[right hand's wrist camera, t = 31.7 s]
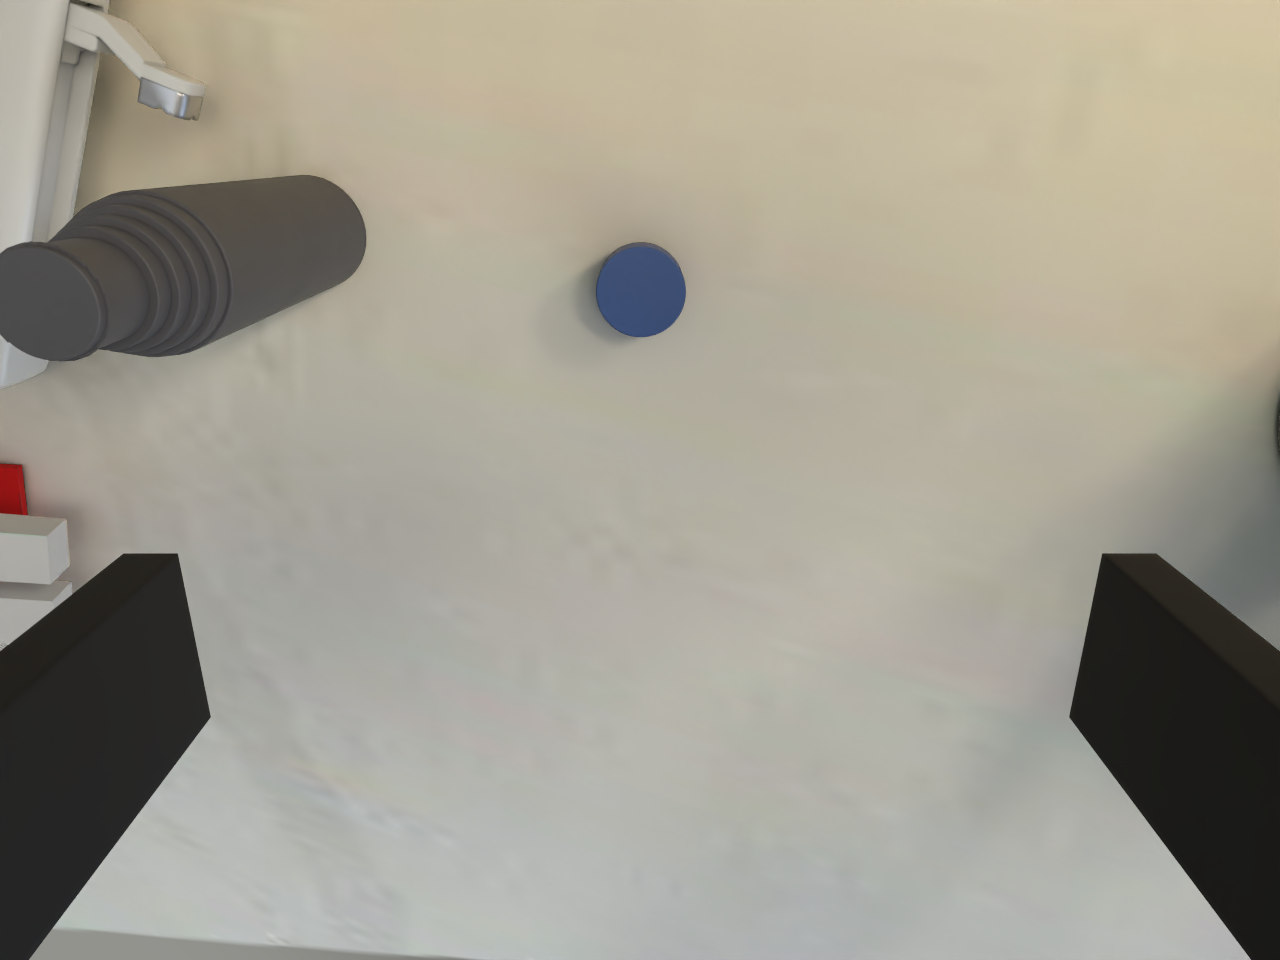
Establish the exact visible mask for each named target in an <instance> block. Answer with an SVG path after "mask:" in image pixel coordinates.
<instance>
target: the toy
mask: <svg viewBox="0 0 1280 960" xmlns="http://www.w3.org/2000/svg"><path fill="white" fill-rule="evenodd" d="M69 566H70V557H69V544H68V530H67V518H54V517H41V516H28V513H27V505H26V496H25V488H24V479H23V471H22V465H13V464H0V644H7V645H9V644H10V643H11V642H13V641H14V640H15V639H17V638H18V637H19V636H20V635H22V634H23V633H24V632H25V631H27V630H28V629H29V628H30V627H32V626H33V625H34V624H35V623H37V622H38V621H39V620H41V619H42V618H43V617H44V616H46V615H47V614H48V613H49V612H51V611H52V610H53V609H54V608H56V607H57V606H58V605H59V604H61V603H62V602H63V601H65V600H66V599H67V598H68V597H70V596H71V595H72V584H71V581H56V579H57V578H58V577H59V576H60V575H61V574H62V573H63V572H64V571H65V570H66V569H67V568H68V567H69Z"/></svg>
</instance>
